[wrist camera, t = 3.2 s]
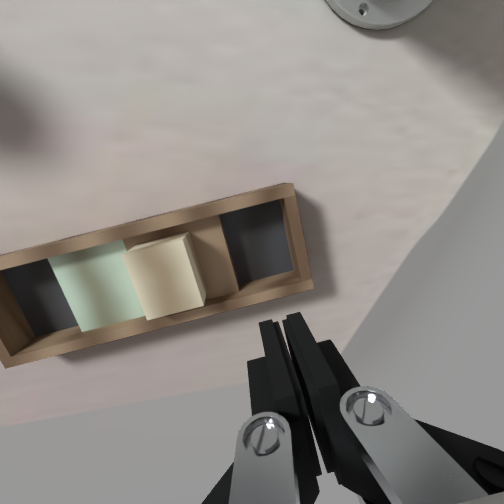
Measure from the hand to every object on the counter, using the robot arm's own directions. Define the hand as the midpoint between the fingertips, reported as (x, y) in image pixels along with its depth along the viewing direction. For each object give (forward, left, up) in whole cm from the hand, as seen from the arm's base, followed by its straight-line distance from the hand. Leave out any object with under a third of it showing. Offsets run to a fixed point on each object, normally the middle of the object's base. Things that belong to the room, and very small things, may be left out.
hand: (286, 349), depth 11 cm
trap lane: (+10, 0, -19) cm, 21 cm away
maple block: (+8, 0, -16) cm, 18 cm away
